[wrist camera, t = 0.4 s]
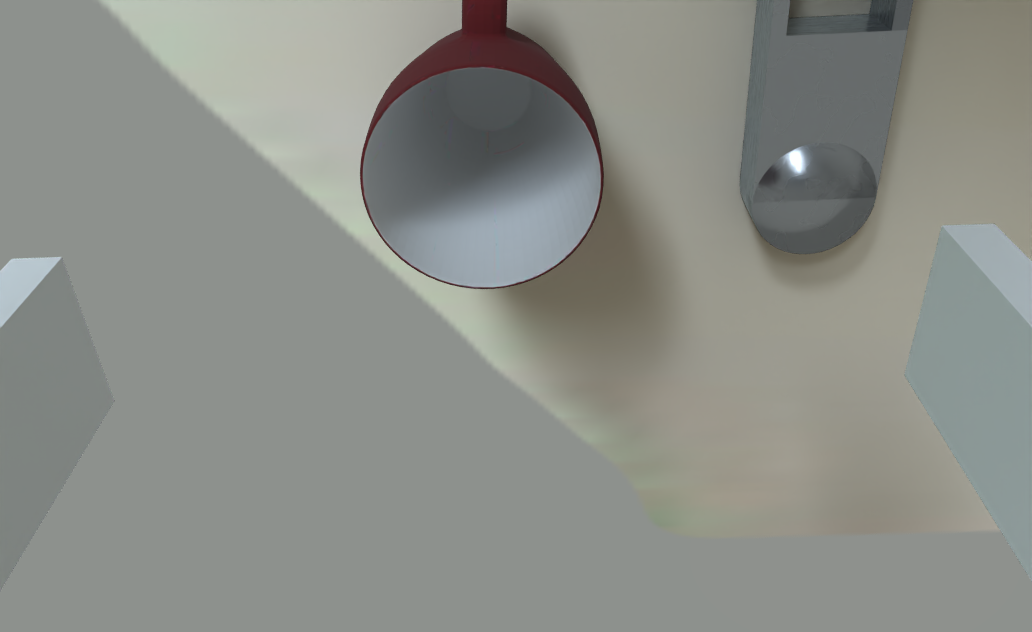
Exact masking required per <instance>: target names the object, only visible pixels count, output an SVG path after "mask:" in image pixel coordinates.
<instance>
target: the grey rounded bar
mask: <svg viewBox="0 0 1032 632" xmlns="http://www.w3.org/2000/svg"><path fill="white" fill-rule="evenodd" d="M912 4H913V0H872V2H871V8H870V14H862V15H841V16H821V17H801V18H788V16H789V7H790V0H757V7H756V18H755V28H754V38H753V49H752V59H751V69H750V80H749V90H748V100H747V111H746V121H745V132H744V142H743V152H742V163H741V173H740V192H741V196H742V199H743V201H744V204H745V206H746V208H747V210H748V212H749V214H750V216H751V218H752V219H753V221H754V223H755V225H756V227H757V229H758V231H759V233H760V234H761V236H762V237H763V238H764V239H765V240H766V241H767V242H769V243H770V244H771V245H773V246H774V247H776V248H778V249H780V250H783V251H786V252H790V253H796V254H811V253H817V252H822V251H825V250H828V249H831V248H833V247H835V246H838V245H839V244H841V243H843V242H844V241H846V240H847V239H849V238H850V237H851V236H852V235H854V234H855V233H856V232H857V231H858V230H859V229H860V228H861V227H862V225H863V224H864V223H865V221H866V220H867V218H868V217H869V215H870V213H871V211H872V208H873V206H874V203H875V199H876V194H877V189H878V184H879V178H880V173H881V168H882V163H883V157H884V152H885V147H886V141H887V136H888V131H889V126H890V120H891V115H892V110H893V104H894V99H895V94H896V88H897V83H898V78H899V73H900V67H901V62H902V57H903V51H904V46H905V41H906V36H907V30H908V25H909V20H910V14H911V9H912Z"/></svg>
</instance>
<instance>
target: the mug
mask: <svg viewBox="0 0 1032 632" xmlns="http://www.w3.org/2000/svg"><path fill="white" fill-rule="evenodd" d="M506 22H507V0H462V29H461V30H459V31H456V32H454V33H452V34H450V35H448V36H446V37H444V38H443V39H441V40H439V41H438V42H436V43H435V44H434V45H432V46H431V47H430V48H429V49H427V50H426V51H425V52H424V53H422V54H421V55H420V56H419V57H417V58H416V59H415V60H414V61H412V62H411V63H410V64H409V65H408V66H407V67H406V68H405V69H404V70H403V71H401V73H400V74H399V75H398V76H397V77H396V78H395V79H394V81H393V82H392V83H391V85H390V86H389V87H388V89H387V90H386V92H385V94H384V95H383V97H382V99H381V101H380V103H379V104H378V106H377V109H376V111H375V113H374V116H373V118H372V121H371V124H370V127H369V130H368V133H367V137H366V140H365V144H364V147H363V152H362V157H361V167H360V181H361V190H362V196H363V200H364V204H365V207H366V210H367V213H368V215H369V218H370V220H371V222H372V224H373V226H374V227H375V229H376V231H377V232H378V234H379V236H380V237H381V238H382V240H383V241H384V242H385V244H386V245H387V246H388V247H389V248H390V249H391V250H392V251H393V252H394V253H395V254H396V255H397V256H398V257H399V258H400V259H401V260H403V261H404V262H405V263H407V264H408V265H409V266H411V267H412V268H414V269H415V270H417V271H419V272H420V273H422V274H424V275H426V276H428V277H430V278H433V279H435V280H438V281H440V282H444V283H447V284H450V285H454V286H459V287H465V288H473V289H495V288H504V287H509V286H514V285H518V284H521V283H525V282H528V281H530V280H533V279H535V278H537V277H539V276H541V275H543V274H545V273H547V272H549V271H550V270H552V269H554V268H555V267H557V266H558V265H559V264H561V263H562V262H563V261H564V260H566V259H567V258H568V257H569V256H570V255H571V254H572V253H573V252H574V251H575V250H576V249H577V248H578V246H579V245H580V244H581V243H582V241H583V240H584V239H585V237H586V236H587V234H588V232H589V231H590V229H591V227H592V225H593V223H594V221H595V219H596V216H597V213H598V210H599V207H600V203H601V198H602V192H603V178H604V173H603V162H602V155H601V148H600V143H599V138H598V133H597V129H596V126H595V122H594V119H593V117H592V114H591V112H590V109H589V107H588V104H587V103H586V101H585V99H584V97H583V95H582V94H581V92H580V90H579V89H578V88H577V86H576V85H575V83H574V82H573V81H572V79H571V78H570V77H569V76H568V75H567V74H566V72H565V71H564V70H563V69H562V68H561V67H560V66H559V65H558V64H557V62H556V61H555V60H554V59H553V58H552V57H551V56H550V55H549V54H548V53H547V52H546V51H545V50H544V49H543V48H542V47H541V46H539V45H538V44H537V43H535V42H534V41H532V40H531V39H529V38H528V37H526V36H524V35H522V34H520V33H518V32H516V31H514V30H512V29H510V28H508V27H506Z"/></svg>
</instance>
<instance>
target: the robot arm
mask: <svg viewBox="0 0 1032 632" xmlns="http://www.w3.org/2000/svg"><path fill="white" fill-rule="evenodd" d="M904 375H905V377H906V379H907V380H908V382H909V383H910V385H911V387H912V388H913V390H914V391H915V393H916V395H917V396H918V398H919V400H920V401H921V403H922V404H923V406H924V408H925V409H926V411H927V413H928V414H929V416H930V417H931V419H932V421H933V422H934V424H935V426H936V427H937V429H938V430H939V432H940V434H941V435H942V437H943V438H944V440H945V442H946V443H947V445H948V447H949V448H950V450H951V451H952V453H953V455H954V456H955V458H956V460H957V461H958V463H959V464H960V466H961V468H962V469H963V471H964V473H965V474H966V476H967V477H968V479H969V481H970V482H971V484H972V485H973V487H974V489H975V490H976V492H977V494H978V495H979V497H980V498H981V500H982V502H983V503H984V505H985V507H986V508H987V510H988V511H989V513H990V515H991V516H992V518H993V520H994V521H995V523H996V524H997V526H998V528H999V529H1000V531H1001V532H1002V534H1003V536H1004V537H1005V539H1006V540H1007V542H1008V544H1009V545H1010V547H1011V549H1012V550H1013V552H1014V554H1015V555H1016V557H1017V558H1018V560H1019V562H1020V563H1021V565H1022V567H1023V568H1024V570H1025V571H1026V573H1027V575H1028V576H1029V578H1030V580H1031V581H1032V261H1031V260H1030V259H1029V258H1028V257H1027V256H1026V255H1025V254H1024V253H1023V252H1022V251H1021V250H1020V249H1019V248H1018V247H1017V246H1016V245H1015V244H1014V243H1013V242H1012V241H1011V240H1010V239H1009V238H1008V237H1007V236H1006V235H1005V234H1004V233H1003V232H1002V231H1001V230H1000V229H999V228H998V227H997V226H996V225H995V224H973V225H945V226H942V227H941V231H940V235H939V239H938V243H937V247H936V251H935V255H934V259H933V263H932V267H931V271H930V275H929V279H928V283H927V287H926V291H925V295H924V299H923V303H922V307H921V311H920V315H919V319H918V323H917V327H916V331H915V335H914V339H913V343H912V347H911V351H910V355H909V359H908V363H907V367H906V371H905V374H904ZM114 401H115V400H114V398H113V395H112V392H111V389H110V387H109V384H108V381H107V378H106V376H105V373H104V370H103V367H102V365H101V362H100V359H99V356H98V354H97V351H96V348H95V346H94V343H93V340H92V337H91V335H90V332H89V329H88V326H87V324H86V321H85V318H84V315H83V313H82V310H81V307H80V305H79V302H78V299H77V296H76V293H75V291H74V288H73V285H72V283H71V280H70V277H69V275H68V272H67V269H66V266H65V263H64V261H63V258H62V257H49V258H24V259H23V258H21V259H11V260H10V261H9V262H8V263H7V264H6V265H5V266H4V267H3V269H2V270H1V271H0V591H1V589H2V587H3V586H4V584H5V582H6V581H7V579H8V577H9V576H10V574H11V572H12V571H13V569H14V567H15V566H16V564H17V562H18V561H19V559H20V557H21V556H22V554H23V552H24V551H25V549H26V547H27V546H28V544H29V543H30V541H31V539H32V537H33V536H34V534H35V532H36V531H37V529H38V527H39V526H40V524H41V523H42V521H43V519H44V518H45V516H46V514H47V513H48V511H49V509H50V508H51V506H52V504H53V503H54V501H55V499H56V498H57V496H58V494H59V493H60V491H61V489H62V488H63V486H64V484H65V483H66V481H67V479H68V478H69V476H70V474H71V473H72V471H73V469H74V468H75V466H76V464H77V463H78V461H79V459H80V458H81V456H82V454H83V452H84V451H85V449H86V448H87V446H88V444H89V443H90V441H91V439H92V438H93V436H94V434H95V433H96V431H97V429H98V428H99V426H100V424H101V423H102V421H103V419H104V418H105V416H106V415H107V413H108V411H109V409H110V408H111V406H112V405H113V403H114Z"/></svg>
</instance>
